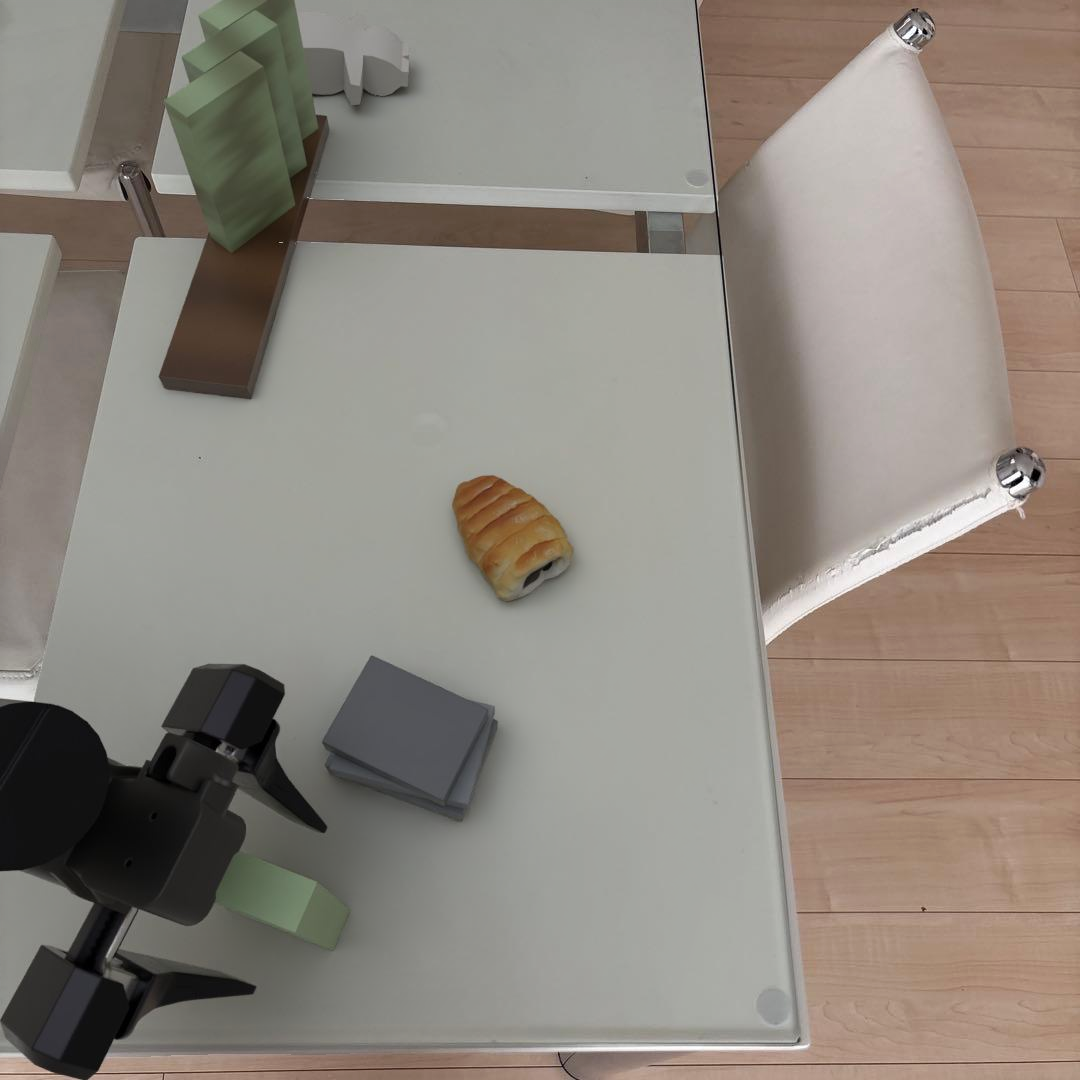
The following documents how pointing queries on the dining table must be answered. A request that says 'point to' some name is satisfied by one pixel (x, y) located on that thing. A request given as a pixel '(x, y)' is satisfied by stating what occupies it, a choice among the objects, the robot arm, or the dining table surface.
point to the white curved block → (352, 56)
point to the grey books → (410, 739)
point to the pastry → (509, 536)
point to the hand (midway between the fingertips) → (288, 906)
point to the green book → (282, 900)
